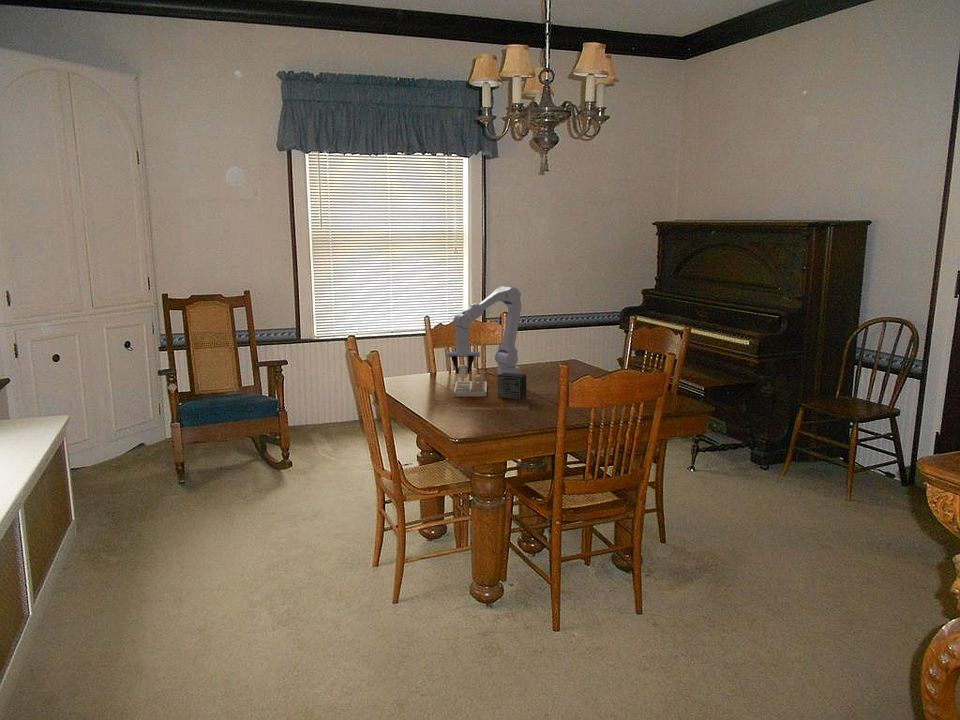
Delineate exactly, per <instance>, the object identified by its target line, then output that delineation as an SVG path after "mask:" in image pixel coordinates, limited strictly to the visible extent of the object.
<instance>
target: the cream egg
mask: <svg viewBox="0 0 960 720" xmlns="http://www.w3.org/2000/svg"><path fill="white" fill-rule="evenodd" d="M457 378H460V379H466V378H469V374H468V365H466V364H460V365H458V374H457Z"/></svg>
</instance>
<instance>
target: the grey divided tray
mask: <svg viewBox="0 0 960 720" xmlns="http://www.w3.org/2000/svg"><path fill="white" fill-rule="evenodd" d="M487 382H488V381H486V380H485V381H484V380H483V392H473V384H474V380H473V381H471V380H470V381H469V380H468V381H467V380H465V381H464V380H462V381H461V380H460V381H459V380H458V381H455V385H454V388H453V397H487V389H488V387H487V386H488V383H487Z"/></svg>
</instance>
